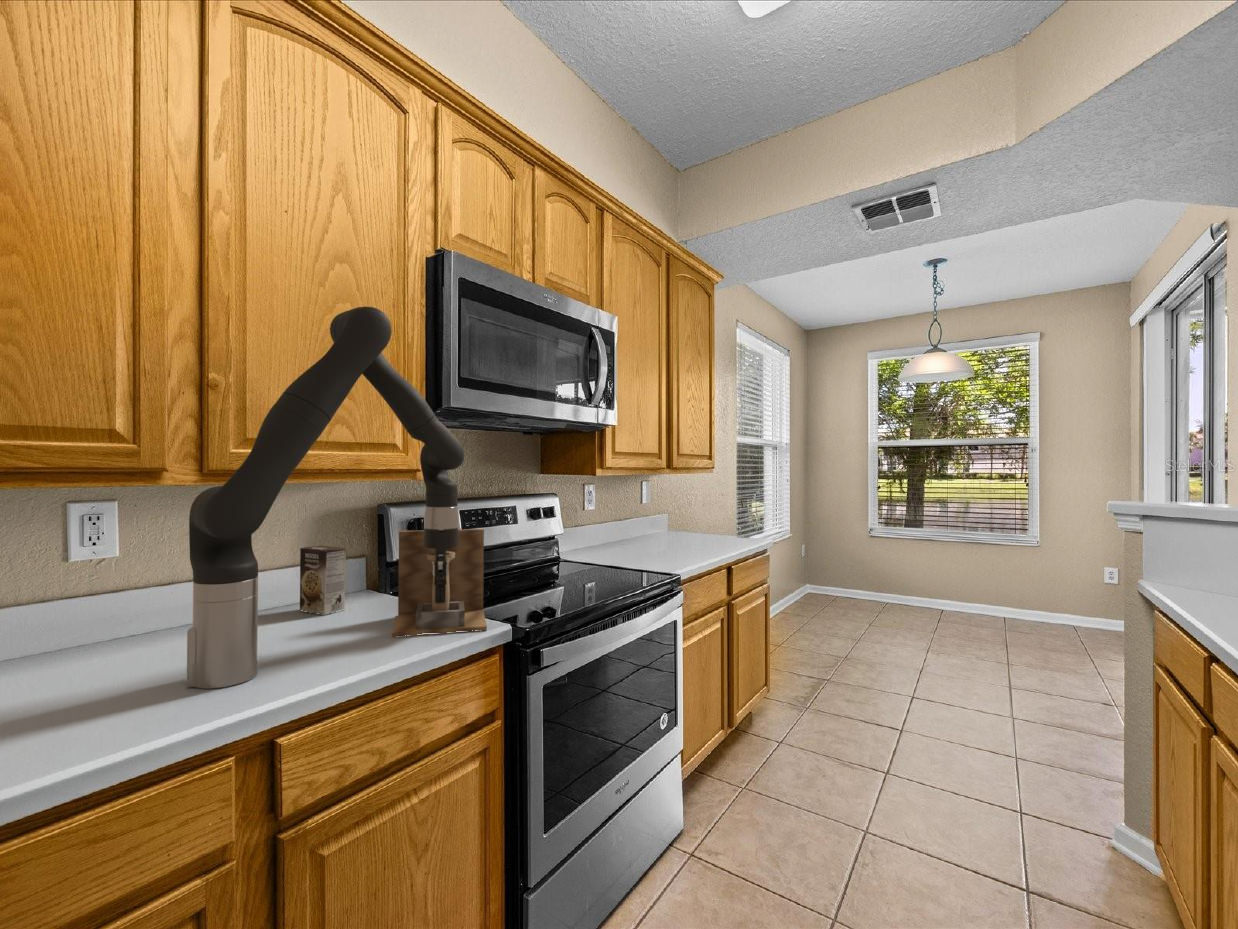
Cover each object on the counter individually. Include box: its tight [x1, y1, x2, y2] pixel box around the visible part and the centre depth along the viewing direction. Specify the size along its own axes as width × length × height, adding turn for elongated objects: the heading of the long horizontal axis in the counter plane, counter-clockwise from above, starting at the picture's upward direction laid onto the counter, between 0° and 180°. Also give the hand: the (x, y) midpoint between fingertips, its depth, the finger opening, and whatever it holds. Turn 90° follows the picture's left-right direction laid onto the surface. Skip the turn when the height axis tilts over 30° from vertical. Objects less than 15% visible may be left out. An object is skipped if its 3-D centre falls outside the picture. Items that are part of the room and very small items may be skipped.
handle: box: [427, 551, 455, 611], centre depth 131 cm, size 5×6×15 cm
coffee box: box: [299, 544, 347, 616], centre depth 144 cm, size 9×6×16 cm
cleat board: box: [391, 528, 488, 638], centre depth 134 cm, size 20×19×21 cm
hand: (440, 600), depth 131 cm, fingers closed on handle, 4 cm apart
